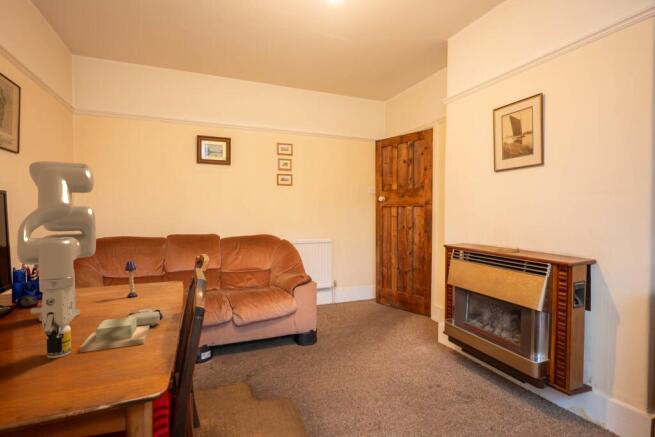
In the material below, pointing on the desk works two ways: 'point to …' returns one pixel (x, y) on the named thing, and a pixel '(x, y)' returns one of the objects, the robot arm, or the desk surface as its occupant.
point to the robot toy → (147, 317)
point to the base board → (115, 343)
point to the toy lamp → (131, 277)
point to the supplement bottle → (63, 342)
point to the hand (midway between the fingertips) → (59, 347)
